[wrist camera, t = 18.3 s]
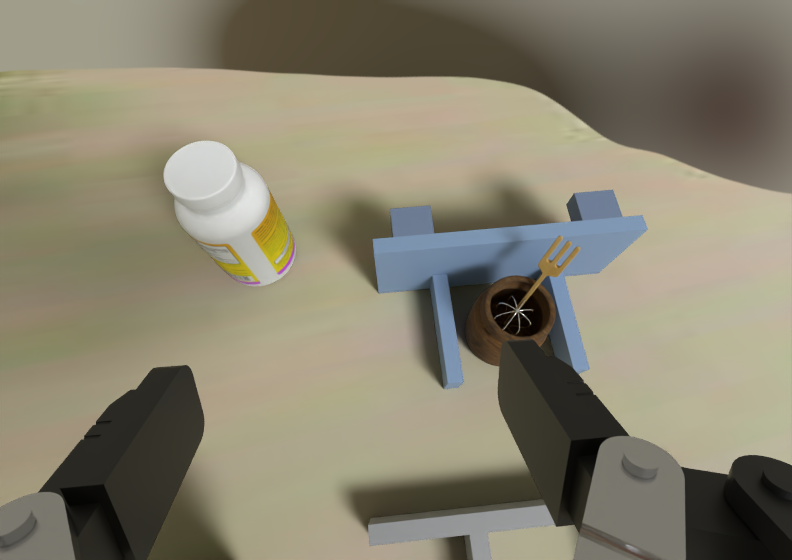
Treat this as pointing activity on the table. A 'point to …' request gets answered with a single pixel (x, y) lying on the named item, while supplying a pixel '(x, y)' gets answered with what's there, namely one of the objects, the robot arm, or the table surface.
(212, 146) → the supplement bottle
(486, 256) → the blue rail with prongs
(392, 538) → the grey rail with prongs
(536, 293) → the utensil holder
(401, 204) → the table surface
